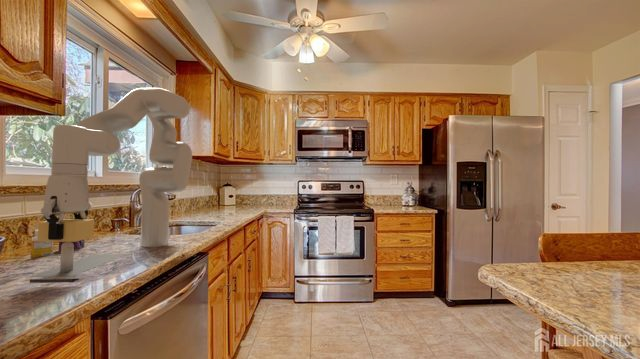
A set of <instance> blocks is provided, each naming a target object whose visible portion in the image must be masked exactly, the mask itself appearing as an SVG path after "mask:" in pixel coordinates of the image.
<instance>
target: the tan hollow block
mask: <svg viewBox="0 0 640 359" xmlns="http://www.w3.org/2000/svg"><path fill="white" fill-rule="evenodd" d="M61 224H64V229H63V239H61V240H49V239H48V229H49V224H47V220H45V221H44V220H43V221H38V228H37V229H38V242H54V243H56V242H58V243H59V242H76V241H80V240H84V239H85V240H87V239H92V238H94V236H95V219H93V218H91V219H90V218H89V219H87V218H86V219H67V218H63V221H62V223H61Z"/></svg>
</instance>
